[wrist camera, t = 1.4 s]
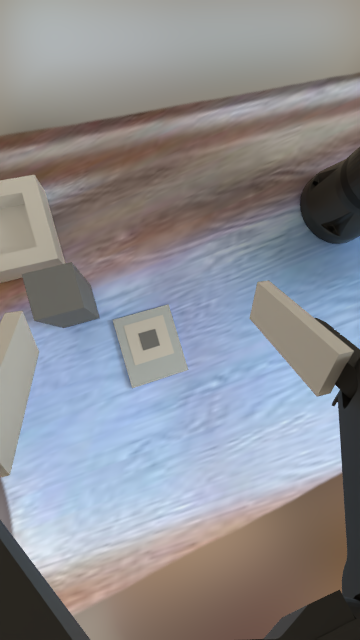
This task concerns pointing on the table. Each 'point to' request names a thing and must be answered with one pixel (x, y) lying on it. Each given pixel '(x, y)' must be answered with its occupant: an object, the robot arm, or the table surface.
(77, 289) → the charcoal pillar
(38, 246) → the socket base
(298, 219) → the table surface
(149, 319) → the card
